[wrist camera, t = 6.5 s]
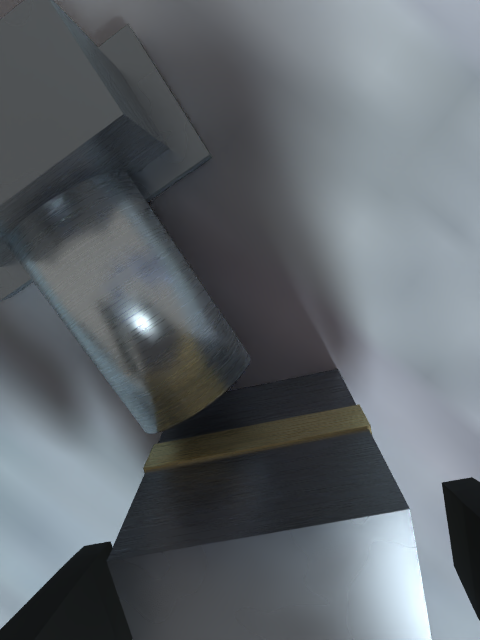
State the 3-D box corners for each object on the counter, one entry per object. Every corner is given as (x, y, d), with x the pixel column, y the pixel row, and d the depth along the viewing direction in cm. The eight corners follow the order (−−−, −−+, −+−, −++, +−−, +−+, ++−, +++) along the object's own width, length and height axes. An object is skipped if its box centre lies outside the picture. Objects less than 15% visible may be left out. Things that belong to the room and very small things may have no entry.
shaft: (306, 307, 12) (334, 360, 8) (109, 427, 13) (36, 535, 9) (135, 34, 11) (52, -87, 6) (-71, 191, 12) (-263, 179, 7)
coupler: (367, 514, 13) (453, 751, 7) (213, 541, 14) (180, 786, 8) (338, 366, 12) (412, 504, 6) (173, 399, 13) (102, 559, 7)
